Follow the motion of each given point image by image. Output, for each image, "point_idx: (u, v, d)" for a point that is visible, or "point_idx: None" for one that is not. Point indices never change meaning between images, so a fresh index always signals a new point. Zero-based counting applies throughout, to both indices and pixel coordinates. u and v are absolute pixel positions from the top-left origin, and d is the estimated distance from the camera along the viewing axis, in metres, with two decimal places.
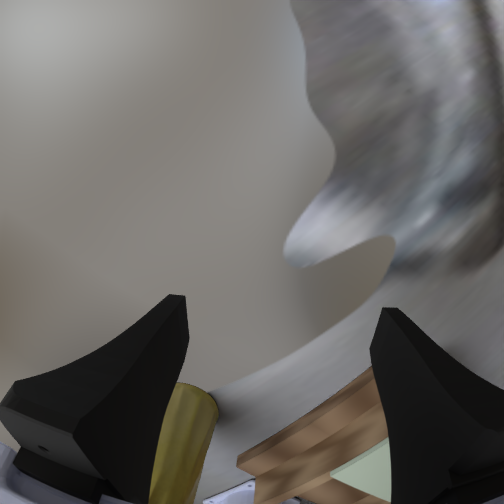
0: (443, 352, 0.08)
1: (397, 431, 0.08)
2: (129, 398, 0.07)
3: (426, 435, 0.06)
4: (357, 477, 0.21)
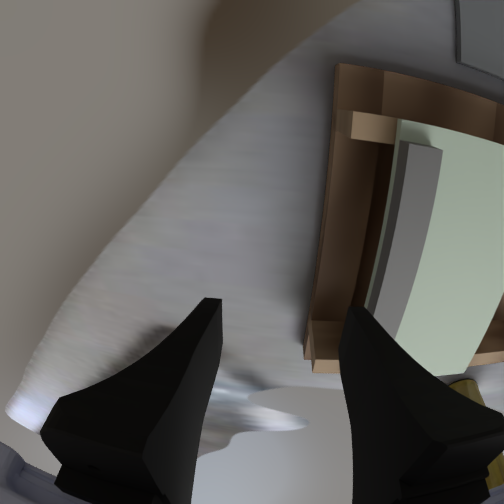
0: (405, 354, 0.08)
1: (359, 434, 0.08)
2: (181, 408, 0.07)
3: (381, 440, 0.06)
4: (462, 352, 0.17)
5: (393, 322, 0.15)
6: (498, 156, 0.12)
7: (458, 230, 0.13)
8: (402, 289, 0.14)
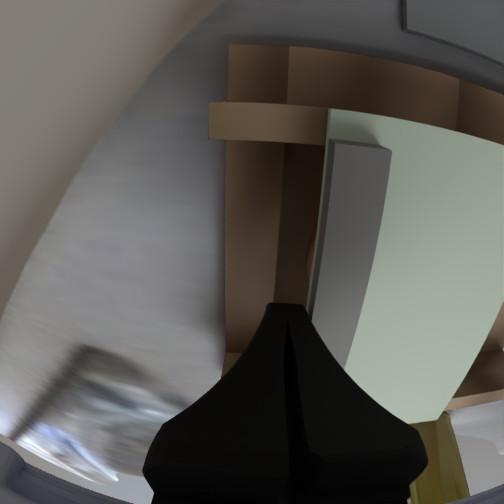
0: (328, 354, 0.08)
1: None
2: None
3: (291, 444, 0.07)
4: (433, 400, 0.14)
5: None
6: (483, 156, 0.09)
7: (423, 261, 0.10)
8: (339, 341, 0.11)
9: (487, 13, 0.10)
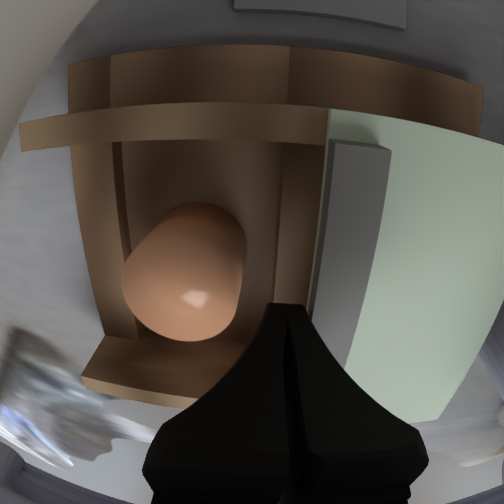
0: (328, 354, 0.08)
1: None
2: None
3: (291, 443, 0.07)
4: (434, 400, 0.14)
5: None
6: (483, 156, 0.09)
7: (423, 260, 0.10)
8: (339, 340, 0.11)
9: None
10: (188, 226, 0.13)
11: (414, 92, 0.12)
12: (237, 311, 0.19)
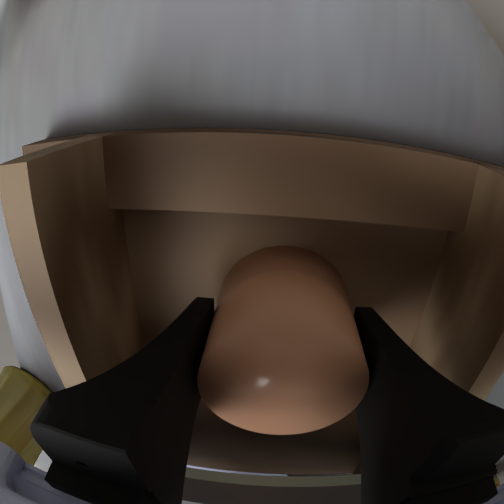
0: (413, 353, 0.08)
1: (367, 434, 0.08)
2: (170, 406, 0.07)
3: (391, 439, 0.06)
4: None
5: None
6: None
7: None
8: None
9: (497, 390, 0.15)
10: None
11: None
12: None
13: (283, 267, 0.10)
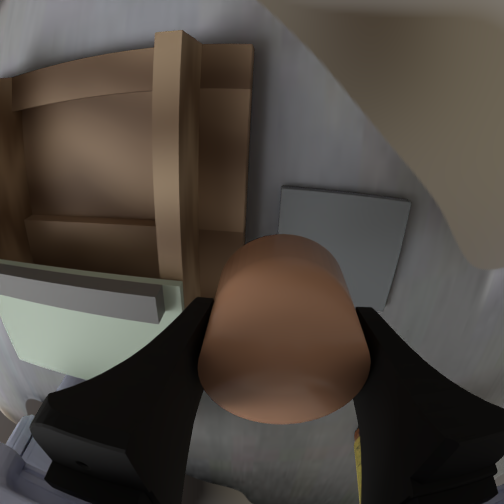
0: (414, 353, 0.08)
1: (367, 433, 0.08)
2: (169, 406, 0.07)
3: (391, 439, 0.06)
4: (32, 354, 0.19)
5: (27, 295, 0.15)
6: None
7: (110, 335, 0.17)
8: (51, 299, 0.15)
9: None
10: None
11: None
12: (49, 189, 0.19)
13: (277, 254, 0.10)
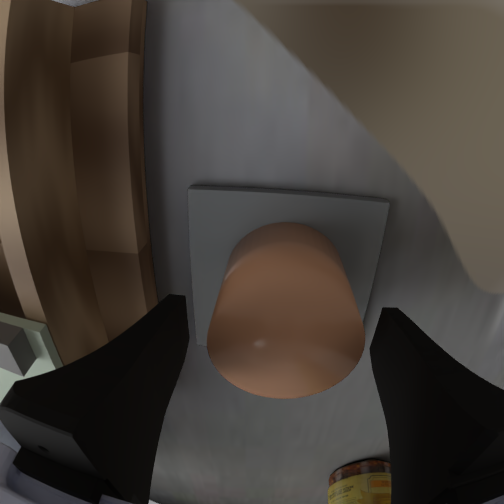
0: (443, 352, 0.08)
1: (397, 431, 0.08)
2: (129, 398, 0.07)
3: (426, 435, 0.06)
4: None
5: None
6: None
7: (2, 375, 0.12)
8: None
9: None
10: None
11: None
12: None
13: (279, 239, 0.11)
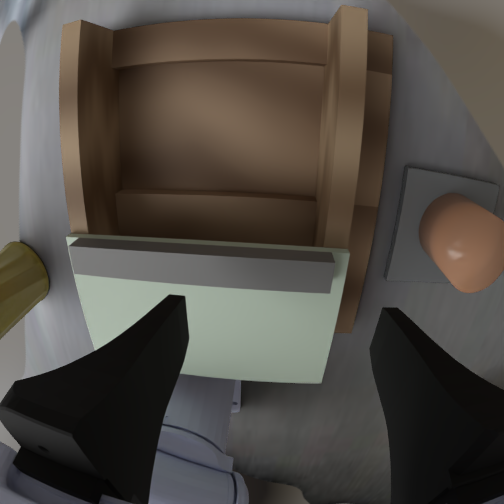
0: (443, 352, 0.08)
1: (397, 431, 0.08)
2: (129, 398, 0.07)
3: (426, 435, 0.06)
4: None
5: (150, 274, 0.15)
6: (320, 343, 0.17)
7: (249, 316, 0.17)
8: (189, 275, 0.15)
9: None
10: None
11: (344, 287, 0.21)
12: (152, 159, 0.19)
13: (463, 200, 0.17)
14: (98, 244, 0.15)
